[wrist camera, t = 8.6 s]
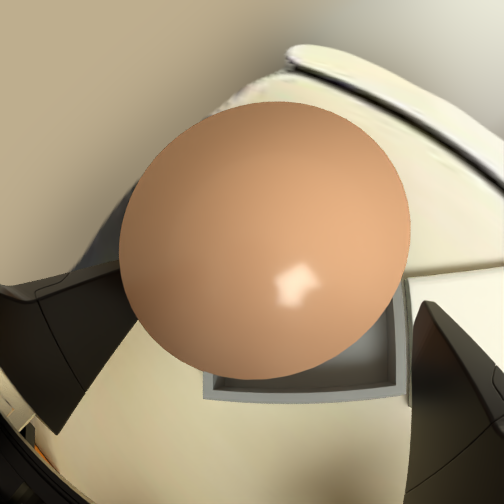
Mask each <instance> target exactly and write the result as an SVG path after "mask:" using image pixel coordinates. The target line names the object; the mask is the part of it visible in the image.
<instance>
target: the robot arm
mask: <svg viewBox="0 0 504 504" xmlns="http://www.w3.org/2000/svg"><path fill="white" fill-rule="evenodd" d="M137 320H138V318H137V316H136V315H135V313H134V311H133V309H132V308H131V305H130V303H129V300H128V298H127V295H126V293H125V290H124V286H123V281H122V277H121V271H120V262H119V260H115V261H111V262H107V263H103V264H99V265H95V266H91V267H88V268H84V269H80V270H76V271H72V272H70V273H65V274H61V275H57V276H54V277H49V278H46V279H41V280H37V281H32V282H28V283H24V284H19V285H14V286H5V285H1V284H0V504H96V503H95V502H93V501H92V500H91V499H89V498H88V497H87V496H85V495H84V494H83V493H82V492H80V491H79V490H78V489H77V488H75V487H74V486H73V485H72V484H71V483H70V482H68V481H67V480H66V479H65V478H64V477H63V476H62V475H60V474H59V473H58V472H57V471H56V470H55V469H54V468H53V467H52V466H51V465H50V464H49V463H48V462H47V461H46V460H45V459H44V458H43V457H42V456H41V455H40V454H39V453H38V452H37V451H36V450H35V427H34V426H33V425H32V424H31V423H30V421H31V420H32V419H33V418H34V416H36V417H37V418H38V419H39V420H40V421H41V422H43V423H44V424H45V425H46V426H47V427H48V428H49V429H50V430H51V431H52V432H53V433H54V434H55V435H58V434H59V433H60V431H61V430H62V428H63V426H64V425H65V423H66V422H67V420H68V419H69V417H70V416H71V414H72V413H73V411H74V410H75V408H76V407H77V405H78V404H79V402H80V401H81V399H82V398H83V396H84V395H85V392H86V391H87V390H88V388H89V387H90V386H91V384H92V383H93V381H94V380H95V378H96V377H97V375H98V374H99V373H100V371H101V370H102V368H103V367H104V366H105V364H106V363H107V361H108V360H109V358H110V357H111V356H112V354H113V353H114V352H115V350H116V349H117V347H118V346H119V345H120V343H121V342H122V341H123V339H124V338H125V336H126V335H127V334H128V332H129V331H130V330H131V328H132V327H133V326H134V324H135V323H136V322H137ZM495 365H496V364H495V362H494V361H493V360H492V359H491V358H490V357H489V356H488V355H487V354H486V353H485V351H484V350H483V349H482V348H481V347H480V346H479V345H478V344H477V343H476V342H475V341H474V340H473V339H472V338H471V337H470V336H469V335H468V334H467V333H466V332H465V331H464V330H463V329H462V328H461V327H460V326H459V325H458V324H457V323H456V322H455V321H454V320H453V319H452V318H451V317H450V316H449V315H448V314H447V313H446V312H445V311H444V310H443V309H442V308H441V307H440V306H439V305H438V304H437V303H436V302H434V301H427V300H424V301H423V302H422V303H421V305H420V308H419V311H418V313H417V316H416V318H415V321H414V325H413V344H412V362H411V382H412V420H411V441H410V455H409V465H408V474H407V482H406V489H405V495H404V501H403V504H504V372H503V371H502V370H501V369H500V368H499V367H498V366H497V365H496V366H495Z"/></svg>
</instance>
